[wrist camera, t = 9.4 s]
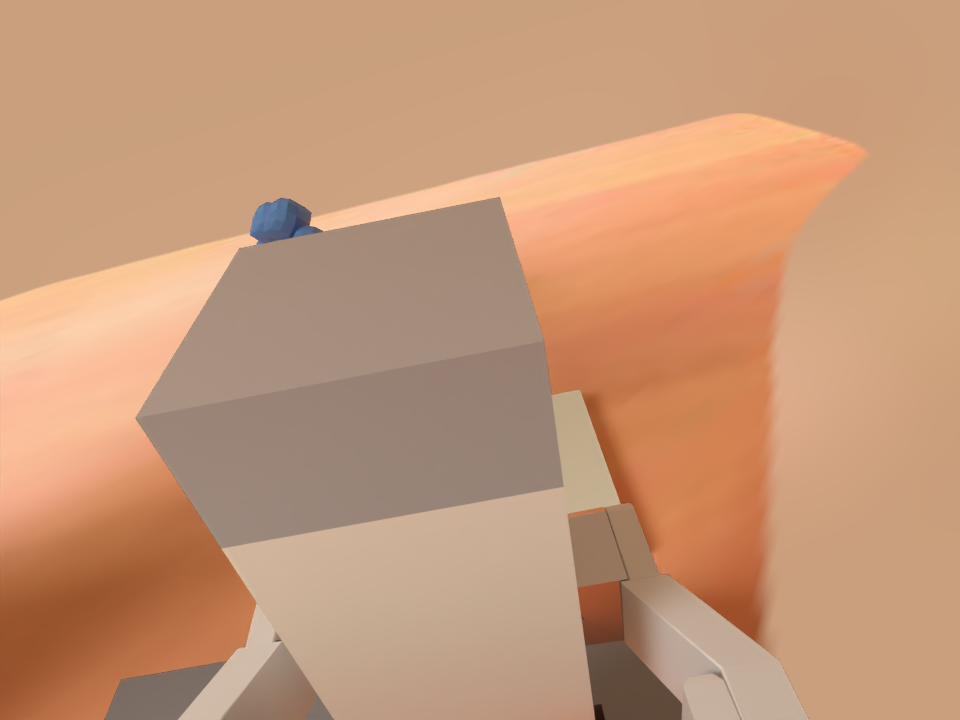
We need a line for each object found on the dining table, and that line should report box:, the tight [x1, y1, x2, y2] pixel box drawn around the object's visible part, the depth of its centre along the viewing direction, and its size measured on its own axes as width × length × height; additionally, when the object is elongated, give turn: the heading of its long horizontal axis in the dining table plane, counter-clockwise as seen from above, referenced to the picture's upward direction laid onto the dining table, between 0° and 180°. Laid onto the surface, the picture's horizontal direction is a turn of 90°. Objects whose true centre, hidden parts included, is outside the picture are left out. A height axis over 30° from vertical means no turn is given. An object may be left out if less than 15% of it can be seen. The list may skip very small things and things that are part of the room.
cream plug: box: [136, 197, 595, 720], centre depth 12 cm, size 4×4×16 cm
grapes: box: [250, 198, 323, 245], centre depth 41 cm, size 12×7×12 cm, turn 40°
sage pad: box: [552, 390, 621, 514], centre depth 30 cm, size 11×11×1 cm
